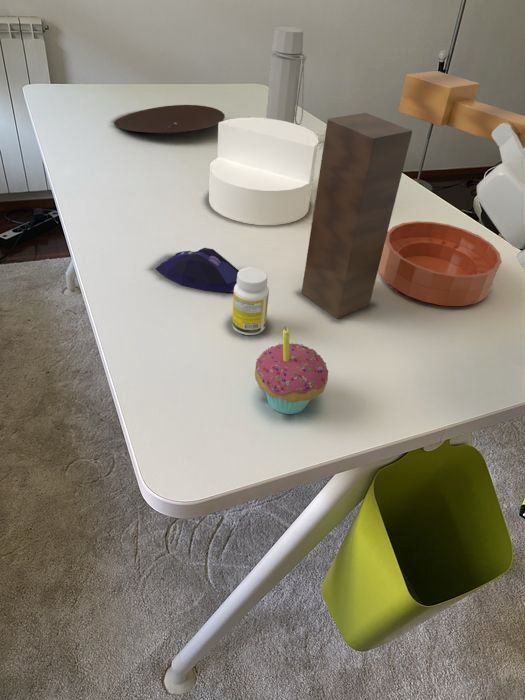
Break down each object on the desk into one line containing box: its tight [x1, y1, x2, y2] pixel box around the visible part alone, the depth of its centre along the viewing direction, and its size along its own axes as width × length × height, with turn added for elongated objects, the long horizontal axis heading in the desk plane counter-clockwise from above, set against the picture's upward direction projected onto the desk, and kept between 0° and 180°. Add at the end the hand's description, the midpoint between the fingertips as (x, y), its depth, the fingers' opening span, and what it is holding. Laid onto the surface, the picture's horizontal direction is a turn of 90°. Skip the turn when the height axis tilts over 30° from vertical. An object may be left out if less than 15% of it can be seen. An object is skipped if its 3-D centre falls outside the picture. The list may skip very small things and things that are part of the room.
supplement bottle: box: [231, 266, 270, 336], centre depth 75 cm, size 5×5×8 cm
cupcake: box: [254, 324, 329, 415], centre depth 63 cm, size 9×8×12 cm
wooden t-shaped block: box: [398, 70, 525, 148], centre depth 60 cm, size 15×6×4 cm, turn 39°
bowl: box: [378, 220, 502, 307], centre depth 90 cm, size 18×18×6 cm
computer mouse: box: [155, 247, 240, 294], centre depth 86 cm, size 9×15×4 cm, turn 65°
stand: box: [301, 112, 413, 320], centre depth 76 cm, size 8×7×26 cm
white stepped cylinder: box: [208, 117, 319, 226], centre depth 106 cm, size 20×20×13 cm
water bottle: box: [265, 26, 307, 126], centre depth 132 cm, size 9×8×25 cm
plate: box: [113, 104, 226, 135], centre depth 140 cm, size 28×28×4 cm
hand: (511, 124), depth 57 cm, fingers closed on wooden t-shaped block, 3 cm apart
